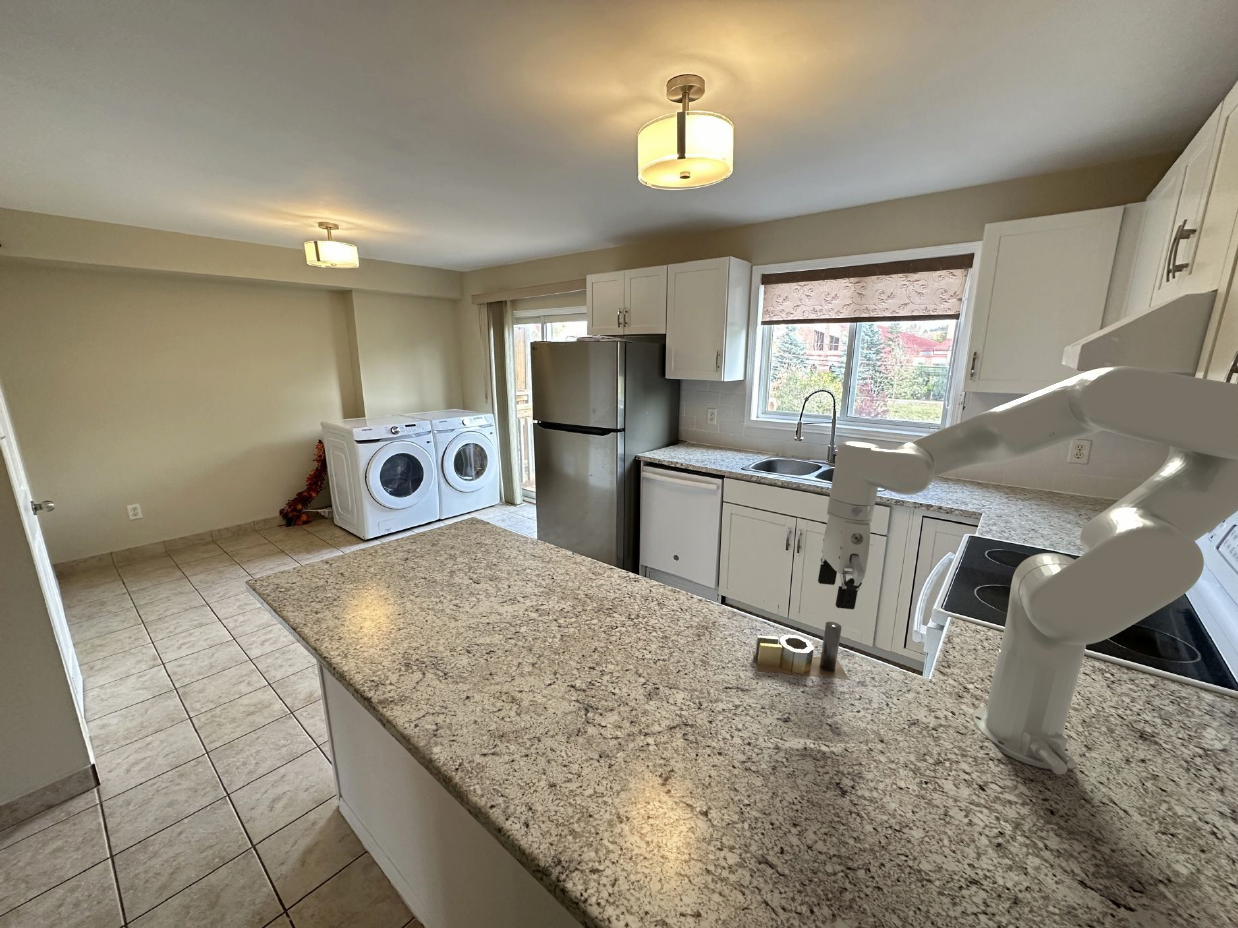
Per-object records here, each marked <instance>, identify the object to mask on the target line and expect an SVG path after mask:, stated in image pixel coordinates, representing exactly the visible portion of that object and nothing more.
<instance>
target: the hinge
mask: <svg viewBox="0 0 1238 928" xmlns="http://www.w3.org/2000/svg"><path fill="white" fill-rule="evenodd" d="M755 642H756V643H755V649H754V650H755V658H758V666H761V667H772V668H779V666H780V667H781V668H783V669H785V670H787V671H789V672H790V673H791V672H792V673H797V674H806V673H807V672H808V671H810V670H811V664H812V657H814V651H815V648H814V646H813V644H812V642H811V641H810V640H809V639H806V638H804V637H803V636H800V635H794V634H784V635H783V636H781V637H780V638H779V637H778V636H770V635H759V634H757V635H756V641H755Z"/></svg>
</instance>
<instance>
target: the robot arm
mask: <svg viewBox="0 0 1238 928" xmlns="http://www.w3.org/2000/svg"><path fill="white" fill-rule="evenodd" d="M1103 431H1105V432H1109V433H1112V434H1116V435H1121V436H1124V437H1128V438H1133V439H1136V440H1139V441H1145V442H1150V443H1152V444H1153V443H1154V444H1158V445H1162V446H1167V447H1169V452H1168V456H1167V457H1166V459H1165V462H1164V463H1163V464H1162V465H1161V467H1160V468H1159V469H1157V471H1156V472H1155V473H1154V474H1152V475H1151V476H1149V478H1147V479H1146V480H1145V481H1144V482H1142V484H1140V485H1139V486H1138V487H1136V488H1135V489H1133V490H1132V491H1130V492H1129V493H1128V494H1126V495H1125V496H1124V497H1122V498H1120V499H1119V500H1118V501H1116V502H1115V503H1113V504H1112V505H1110V506H1109V507H1107V508H1106V509H1105V510H1103V511H1102V512H1100V513H1099V514H1097V515H1096V516H1094V517H1093V518H1092V519H1090V520H1089V521H1088V522H1087V523H1086V524H1085V525H1084V526H1083V528H1082V529H1081V533H1080V535H1079V537H1080V545H1081V547H1082V549H1083V551H1084V553H1083V554H1082V555H1080V556H1079V557H1078V558H1075V559H1074V558H1072V557H1070V556H1067V555H1064V554H1060V553H1055V552H1051V553H1050V552H1047V553H1046V552H1045V553H1044V552H1043V553H1038V554H1035V555H1031V556H1029V557H1027V558H1026V559H1024V560H1023V561H1022V562H1021V563H1020V564H1018V566H1017V567H1016V569H1015V571H1014V574H1013V576H1012V580H1011V584H1010V590H1009V591H1010V592H1009V599H1008V606H1007V607H1008V608H1007V615H1006V620H1005V625H1004V629H1003V634H1002V639H1001V641H1000V646H999V651H998V655H997V659H996V663H995V668H994V672H993V677H992V681H991V685H990V690H989V695H988V698H987V704H986V706H983V707H981V706H980V707H979V708H976V709H975V710H974V711H973V713H972V715H971V721H972V722H973V724H974V725H975V727H976V728H977V730H978V731H979V732H980V733H982V734H983V736H984V737H985V738H986V739H988V741H989V742H990V743H992V744H993V745H994V747H995V748H996V749H997V750H998V751H999V752H1000V753H1003V754H1004V755H1006V756H1008V757H1010V758H1012V759H1014V760H1016V761H1018V762H1021V763H1024V764H1026V765H1029V766H1033V767H1037V768H1040V769H1045V770H1051V771H1052V772H1053V774H1056V775H1059V776H1061V775H1064V774H1066V773H1067V772H1068V769H1074V768H1076V767H1077V765H1078V763H1077V761H1076V760H1074V758H1072V755H1073V754H1072V750H1071V749H1070V747H1069V746H1068V744H1067V743H1068V738H1067V737H1065V735H1063V734H1064V732H1065V731H1064V730H1065V726H1066V723H1067V719H1068V715H1069V711H1070V708H1071V704H1072V701H1073V697H1074V694H1075V693H1074V692H1075V690H1076V685H1077V682H1078V678H1079V674H1080V672H1081V668H1082V664H1083V661H1084V656H1085V652H1086V648H1087V645H1092V644H1096V643H1099V642H1102V641H1105V640H1108V639H1110V638H1111V637H1113V636H1115V635H1117V634H1119V633H1121V632H1122V631H1125V630H1126V629H1127V628H1129V627H1132V625H1135V624H1136V623H1138V622H1141V621H1142V620H1143V619H1145V618H1146V617H1149V616H1150V615H1152V614H1154V613H1155V612H1157V611H1158V610H1160V609H1162V608H1164V607H1166V606H1167V605H1169V604H1171V603H1173V602H1174V601H1176V600H1177V599H1178V598H1180V597H1181V596H1183V595H1184V594H1186V593H1187V592H1188V591H1189V590H1191V589H1192V588H1193V586H1195V585H1196V583H1197V582H1198V581H1199V579H1200V577H1201V575H1202V573H1203V571H1204V565H1205V560H1204V559H1205V558H1204V554H1203V552H1202V550H1201V548H1200V546H1199V545H1198V544H1197V542H1196V541H1198V540H1199V539H1200V538H1202V537H1203V536H1205V535H1206V534H1207V533H1209V532H1211V531H1212V530H1213V529H1216V527H1217V526H1219V525H1220V524H1221V523H1223V522H1224V521H1226V520H1227V519H1229V518H1231V517H1232V516H1233V515H1235V513H1237V512H1238V383H1235V382H1234V383H1233V382H1226V381H1220V380H1214V379H1208V378H1202V377H1196V376H1189V375H1185V374H1179V373H1172V372H1168V371H1161V370H1156V369H1150V368H1146V367H1137V366H1130V365H1120V366H1108V367H1107V366H1106V367H1099V368H1096V369H1091V370H1088V371H1086V372H1082V373H1080V374H1078V375H1075V376H1073V377H1070V378H1068V379H1064V380H1063V381H1060V382H1057V383H1055V384H1052V385H1050V386H1047V387H1045V388H1042V389H1040V390H1037V391H1035V392H1032V393H1029V394H1027V395H1025V396H1022V397H1020V398H1017V399H1014V400H1012V401H1010V402H1007V403H1004V404H1001V405H999V406H996V407H993V408H992V409H989V410H987V411H984V412H981V413H978V414H977V415H974V416H972V417H970V418H968V419H965V420H963V421H960V422H958V423H956V424H952V425H950V426H947V427H945V428H942V429H939V430H936V431H934V432H932V433H930V434H929V433H928V434H926V435H924V436H922V437H918V438H916V439H914V440H911V441H909V442H906V443H904V444H901V445H900V446H897V447H896V448H894V449H884V448H882V447H881V446H879V445H877V444H874V443H869V442H866V441H865V442H864V441H852V440H851V441H849V440H848V441H843V442H842V443H840V444H839V446H838V447H837V451H836V457H835V463H834V468H833V475H832V481H831V487H830V494H829V497H828V498H829V499H828V504H827V505H828V506H827V511H826V515H828V519H827V522H826V526H825V531H824V536H823V539H822V549H821V553H822V556H821V558H820V563H821V564H820V565H819V566H820V567H819V572H818V577H817V582H818V584H820V585H827V586H829V585H830V586H831V585H832V586H834V585H835V584H836V581H837V575H838V574H839V577H840V578H839V579H840V586H839V585H838V588H837V594H836V599H835V607H836V608H838V609H842V610H843V609H845V610H855V609H856V608H855V607H856V603H857V598H858V592H859V591H860V588H861V586H862V584H863V580H864V578H865V576H866V573H867V568H868V561H869V555H870V544H871V524H870V523H871V522H872V521H873V517H874V516H873V515H874V510H875V505H876V500H877V495H878V489H879V488H880V489H882V490H886V491H888V492H891V493H895V494H899V495H904V496H905V495H906V496H911V495H917V494H919V493H922V492H924V491H925V490H926V489H928V488H929V486H930V485H931V483H932V481H933V479H934V478H935V477H938V476H942V475H944V474H947V473H950V472H953V471H956V470H960V469H962V468H966V467H970V466H973V465H978V464H984V463H985V464H986V463H1000V462H1001V463H1003V462H1004V463H1005V462H1010V461H1014V460H1021V459H1023V458H1026V457H1029V456H1032V455H1035V454H1039V453H1040V452H1044V451H1045V450H1050V449H1052V448H1055V447H1057V446H1061V445H1064V444H1067V443H1069V442H1072V441H1075V440H1079V439H1083V438H1085V437H1088V436H1092V435H1094V434H1095V435H1096V434H1097V433H1101V432H1103ZM847 577H849V578H848V579H847Z"/></svg>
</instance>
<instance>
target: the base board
mask: <svg viewBox="0 0 1238 928" xmlns="http://www.w3.org/2000/svg"><path fill="white" fill-rule="evenodd" d="M751 653H752V656H753V659H754V662H755V665H756V668H757V671H758V672H764V673H773V674H774V673H775V674H784V675H785V674H787V675H795V676H805V677H819V678H829V679H840V680H850V678H849V676H848V674H847V673H846V670H845V669H844V668H843V667H842V665H841V663H840V661H839V660H838V659H837V660H836V667H835V671H833V672H829V671H825V670H823V669H822V668H821V667H820V659H821V656H813V657H812V664H811V670H810V671H808V672H807V673H806V674H797V673H792V672H791V673H790V672H789V671H787V670H785V669H783V668H781V667H780V666H779V668H772V667H761V666H758V658H755V651H753V650H752V651H751Z"/></svg>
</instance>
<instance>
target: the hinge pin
mask: <svg viewBox="0 0 1238 928" xmlns="http://www.w3.org/2000/svg"><path fill="white" fill-rule="evenodd" d="M824 627H825V628H824V633H823V640H822V645H821V646H822V647H821V654H820V657H821V659H820V667H821V668H822V669H823V670H825V671H829V672H833V671H835V667H836V660H838V653H839V647H840V641H841V640H840V639H841V634H842V627H843V626H842V625H841V624H839V623H838V622H835V621H827V622H825V626H824Z"/></svg>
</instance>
